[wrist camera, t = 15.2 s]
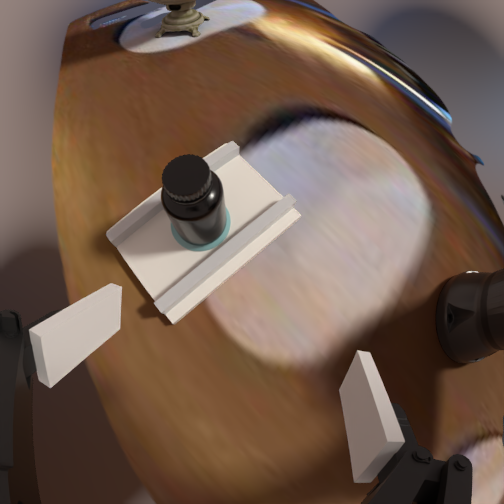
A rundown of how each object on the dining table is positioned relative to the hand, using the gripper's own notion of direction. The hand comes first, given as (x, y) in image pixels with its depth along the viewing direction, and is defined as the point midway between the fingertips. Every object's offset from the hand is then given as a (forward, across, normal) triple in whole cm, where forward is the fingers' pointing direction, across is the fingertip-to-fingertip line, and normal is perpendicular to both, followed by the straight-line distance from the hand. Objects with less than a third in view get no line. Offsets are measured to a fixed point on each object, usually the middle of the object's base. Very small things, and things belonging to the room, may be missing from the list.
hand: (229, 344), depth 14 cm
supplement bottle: (+24, -9, +2) cm, 26 cm away
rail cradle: (+25, -10, +1) cm, 27 cm away
